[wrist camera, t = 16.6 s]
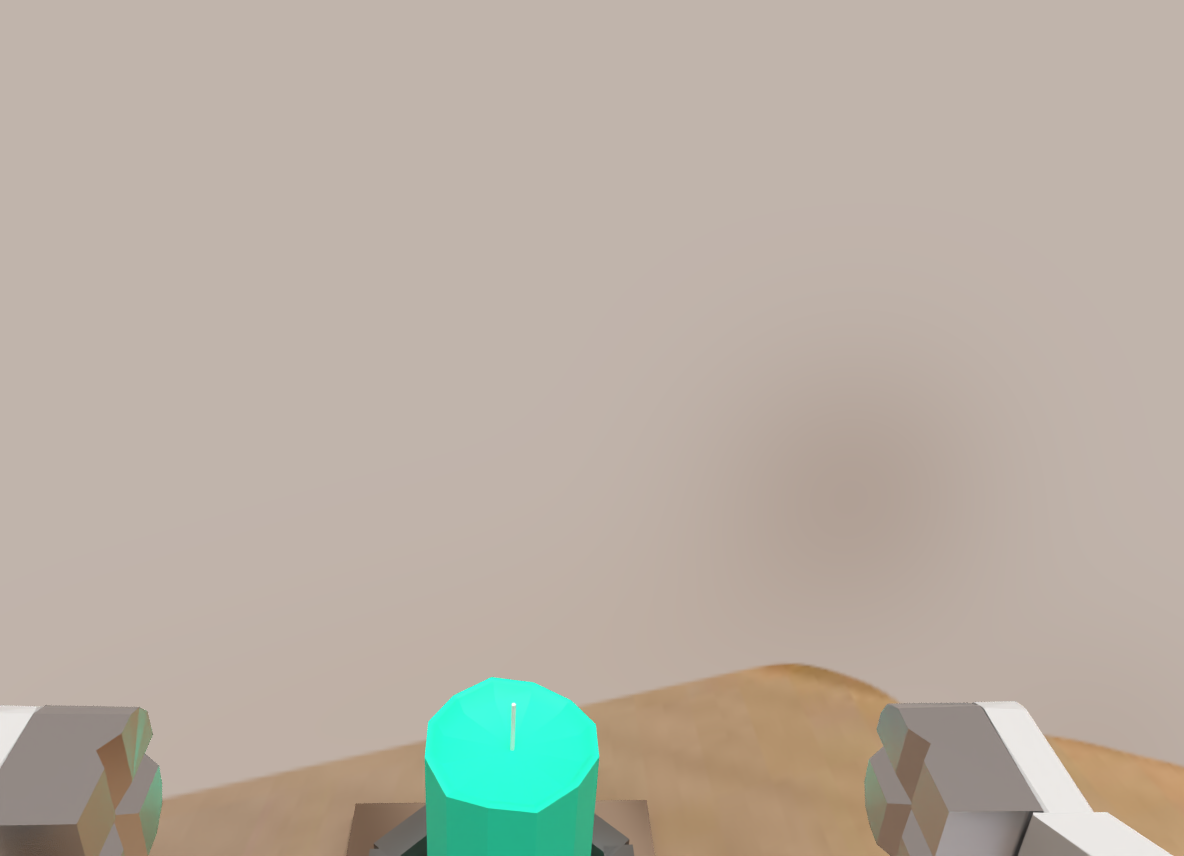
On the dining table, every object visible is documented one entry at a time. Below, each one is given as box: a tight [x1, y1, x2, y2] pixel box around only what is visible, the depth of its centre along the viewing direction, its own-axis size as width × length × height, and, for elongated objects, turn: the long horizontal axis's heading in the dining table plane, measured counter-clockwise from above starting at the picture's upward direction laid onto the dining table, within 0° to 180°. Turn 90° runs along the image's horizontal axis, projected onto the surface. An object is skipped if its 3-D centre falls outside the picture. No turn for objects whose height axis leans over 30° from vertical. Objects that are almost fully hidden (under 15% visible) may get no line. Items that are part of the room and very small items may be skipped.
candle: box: [425, 677, 599, 856], centre depth 35 cm, size 6×6×12 cm
